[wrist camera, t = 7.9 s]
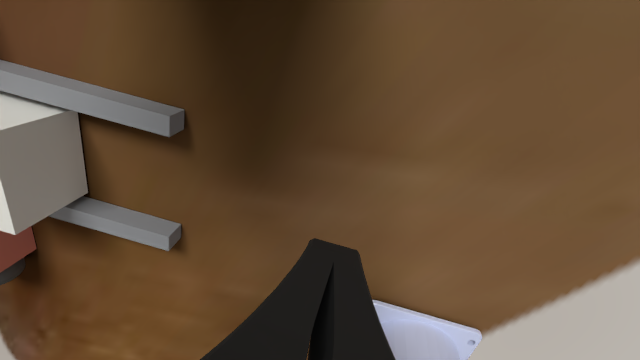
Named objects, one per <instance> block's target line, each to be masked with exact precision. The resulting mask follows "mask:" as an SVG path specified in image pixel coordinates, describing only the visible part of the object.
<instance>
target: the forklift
mask: <svg viewBox="0 0 640 360" xmlns="http://www.w3.org/2000/svg"><path fill="white" fill-rule="evenodd" d="M0 91H4V92H7V93H11V94H15V95H18V96H22V97H25V98H29V99H33V100H36V101H40V102H44V103H47V104H51V105H54V106H58V107H62V108H65V109H69V110H73V111H76V112H80V113H83V114H87V115H91V116H94V117H98V118H102V119H105V120H109V121H113V122H116V123H120V124H123V125H127V126H131V127H134V128H138V129H142V130H145V131H149V132H152V133H156V134H160V135H163V136H167V137H171V136H172V135H174V134H176V133H178V132H180V131H182V130H183V129H184V109H180V108H177V107H173V106H169V105H166V104H162V103H158V102H154V101H151V100H147V99H143V98H140V97H136V96H132V95H129V94H125V93H121V92H118V91H114V90H110V89H107V88H103V87H99V86H96V85H92V84H88V83H84V82H81V81H77V80H73V79H70V78H66V77H62V76H59V75H55V74H51V73H48V72H44V71H40V70H37V69H33V68H29V67H26V66H22V65H18V64H14V63H11V62H7V61H3V60H0ZM49 217H53V218H56V219H60V220H63V221H67V222H70V223H74V224H77V225H80V226H84V227H87V228H91V229H94V230H98V231H101V232H105V233H108V234H111V235H115V236H118V237H122V238H125V239H129V240H132V241H136V242H139V243H143V244H146V245H149V246H153V247H156V248H160V249H163V250H167V251H169V250H170V249H171V248H172V247H173V246H174V245H175V244H176V243H177V241H178V240H179V239H180V238H181V224H179V223H175V222H172V221H168V220H165V219H161V218H158V217H154V216H151V215H147V214H144V213H140V212H137V211H133V210H130V209H127V208H123V207H120V206H116V205H113V204H109V203H106V202H102V201H99V200H95V199H92V198H88V197H85V196H81V197H80V198H78V199H76V200H75V201H73V202H71V203H70V204H68V205H66V206H64V207H63V208H61V209H59V210H58V211H56V212H54V213H52V214H51V215H49ZM35 249H37V248H36V244H35V240H34V235H33V231H32V227H31V226H30V227H28V228H27V229H25V230H23V231H22V232H20V233H18V234H17V235H14V234H10V233H7V232H3V231H0V285H2V284H5V283H7V282H9V281H11V280H13V279H14V278H16V277H17V276H18V275H19V274H21V272H22V271H23V270H24V268H25V260H24V257H25V256H26V255H28V254H29V253H31V252H32V251H34V250H35Z"/></svg>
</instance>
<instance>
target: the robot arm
mask: <svg viewBox="0 0 640 360" xmlns="http://www.w3.org/2000/svg"><path fill="white" fill-rule="evenodd" d="M310 337H311V339H310ZM481 340H482V335H481V332H480V331H479V330H477V329H474V328H471V327H467V326H464V325H461V324H457V323H454V322H450V321H447V320H443V319H440V318H436V317H433V316H429V315H426V314H422V313H419V312H415V311H412V310H409V309H405V308H402V307H398V306H395V305H391V304H388V303H384V302H381V301H377V300H372V298H371V295H370V292H369V289H368V285H367V282H366V279H365V275H364V271H363V267H362V263H361V259H360V254H359V253H358V251H357V250H354V249H350V248H347V247H343V246H340V245H336V244H333V243H329V242H326V241H322V240H319V239H315V238H314V239H312V240H310V241H309V243H308V246H307V248H306V249H305V251H304V253H303V254H302V256H301V257H300V259H299V260H298V261H297V263H296V264H295V266H294V267H293V268H292V270H291V271H290V272H289V273H288V274H287V276H286V277H285V278H284V279H283V280H282V282H281V283H280V284H279V285H278V286H277V288H276V289H275V290H274V291H273V292H272V293H271V294H270V295H269V296H268V297H267V298H266V299H265V300H264V302H263V303H262V304H261V305H260V306H259V307H258V308H257V309H256V310H255V311H254V312H253V313H252V314H251V315H250V316H249V317H248V318H247V319H246V320H245V321H244V322H243V323H242V324H241V325H239V326H238V327H237V328H236V329H235V330H234V331H233V332H232V333H231V334H230V335H228V336H227V337H226V338H225V339H224V340H223V341H222V342H221V343H219V344H218V345H217V346H216V347H215V348H213V349H212V350H211V351H210V352H209V353H207V354H206V355H205V356H204V357H203V358H201V359H200V360H306V358H307V353H308V347H309V342H310V347H309V354H308V360H468V358H469V357H470V355H471V354H472V352H473V351H474V350H475V348H476V347H477V345H478V344H479V343H480V341H481Z"/></svg>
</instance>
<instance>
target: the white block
mask: <svg viewBox="0 0 640 360" xmlns="http://www.w3.org/2000/svg"><path fill="white" fill-rule="evenodd" d="M87 193H88V189H87V181H86V173H85V165H84V158H83V150H82V142H81V135H80V127H79V119H78V112H76V111H73V110H69V109H65V108H62V107H58V106H54V105H51V104H47V103H44V102H40V101H36V100H33V99H29V98H25V97H22V96H18V95H15V94H11V93H7V92H4V91H0V231H3V232H7V233H10V234H14V235H17V234H18V233H20V232H22V231H23V230H25V229H27V228H28V227H30V226H32V225H34V224H35V223H37V222H39V221H40V220H42V219H44V218H46V217H47V216H49V215H51V214H52V213H54V212H56V211H58V210H59V209H61V208H63V207H64V206H66V205H68V204H70V203H71V202H73V201H75V200H76V199H78V198H80V197H81V196H83V195H85V194H87Z"/></svg>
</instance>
